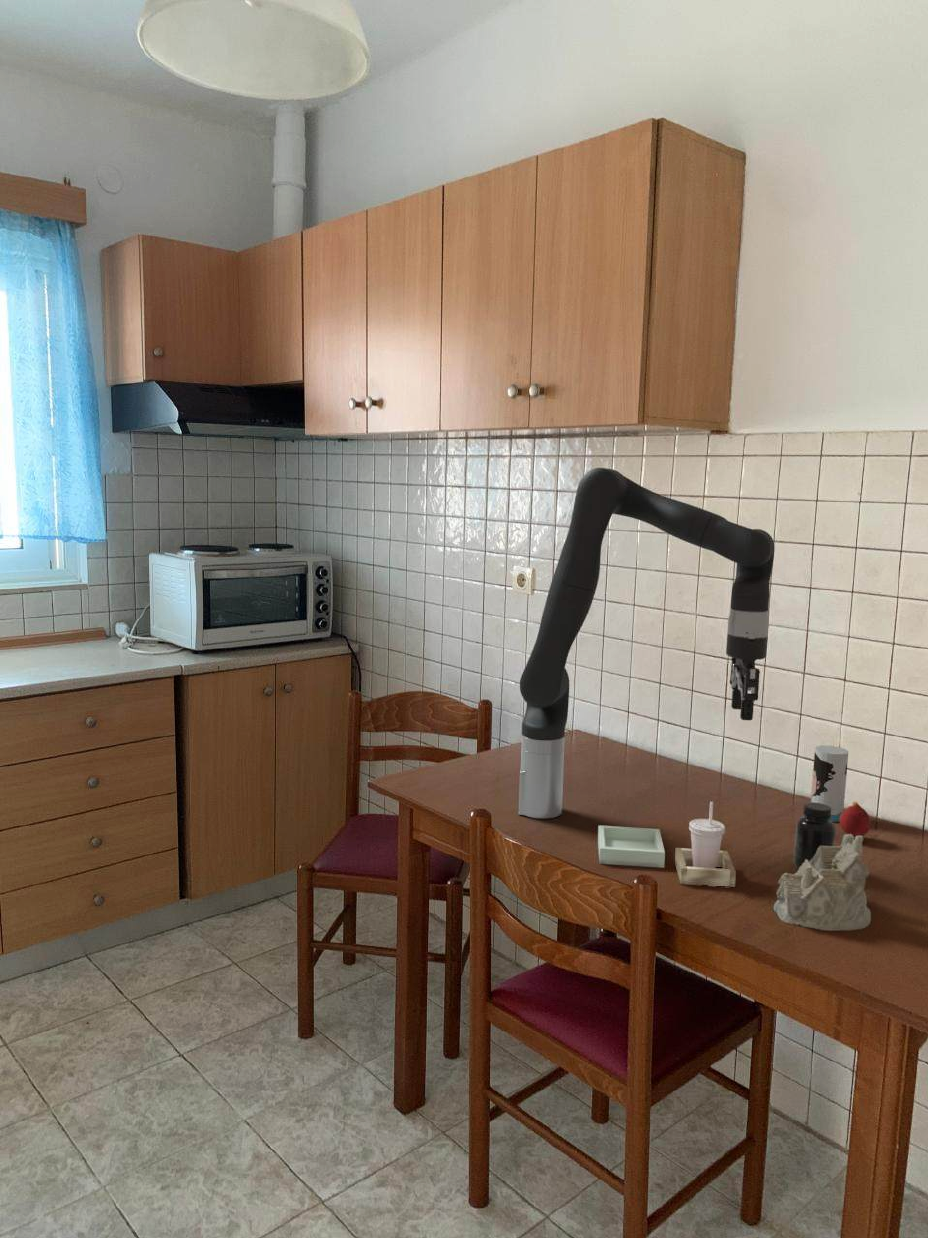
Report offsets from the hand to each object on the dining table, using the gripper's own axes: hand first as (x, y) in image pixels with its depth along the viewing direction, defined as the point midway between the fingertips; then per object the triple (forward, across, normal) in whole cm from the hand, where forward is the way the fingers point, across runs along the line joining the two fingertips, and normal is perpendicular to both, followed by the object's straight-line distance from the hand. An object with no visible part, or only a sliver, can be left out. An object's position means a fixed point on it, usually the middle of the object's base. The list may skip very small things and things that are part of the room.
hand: (741, 714), depth 182 cm
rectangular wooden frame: (+27, +16, -8) cm, 32 cm away
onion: (+27, -6, +25) cm, 37 cm away
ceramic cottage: (+27, +28, +9) cm, 40 cm away
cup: (+27, -19, +24) cm, 40 cm away
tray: (+27, +8, -21) cm, 35 cm away
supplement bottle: (+27, +10, +13) cm, 31 cm away
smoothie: (+27, +16, -8) cm, 32 cm away
